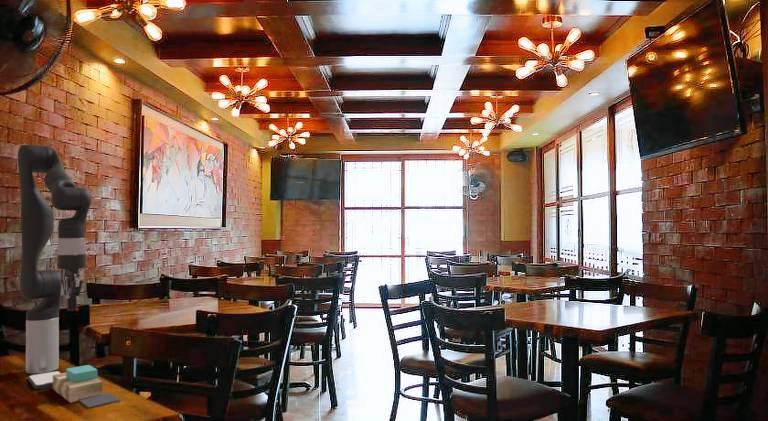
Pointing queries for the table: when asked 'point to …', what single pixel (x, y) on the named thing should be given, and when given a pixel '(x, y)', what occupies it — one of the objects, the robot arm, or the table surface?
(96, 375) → the turquoise rectangular block
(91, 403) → the mat
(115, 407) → the table surface
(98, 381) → the board
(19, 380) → the table surface
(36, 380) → the phone case
